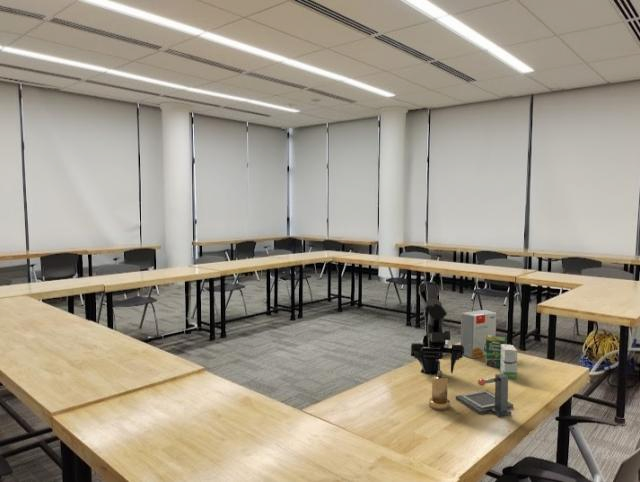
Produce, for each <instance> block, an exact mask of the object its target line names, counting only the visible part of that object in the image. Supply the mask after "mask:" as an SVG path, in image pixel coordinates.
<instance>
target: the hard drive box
mask: <svg viewBox="0 0 640 482" xmlns="http://www.w3.org/2000/svg"><path fill="white" fill-rule="evenodd" d="M460 318H461V319H460V321H461V323H460V343H459V345H463V347H464V354H463V357H464V356H465V357H467V358H470V359H474V358H480V357H484V356H485V357H486V336H487V335H490V336H496V334H497V333H496V331H497V312H495V311H492V310H491V311H490V310H487V309H479V310H474V311H467V312H466V311H465V312H461V315H460Z"/></svg>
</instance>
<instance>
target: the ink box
mask: <svg viewBox="0 0 640 482" xmlns="http://www.w3.org/2000/svg"><path fill="white" fill-rule="evenodd" d="M499 369H500V374H501V373H502V374H505V375H507V376H508V380H509V379H511V380H512V379H513V380H517V378H518V376H517V374H518V350H517V349H516V347H515V346H514V345H513V344H507V343H506V344H501V364H500V367H499Z"/></svg>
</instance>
